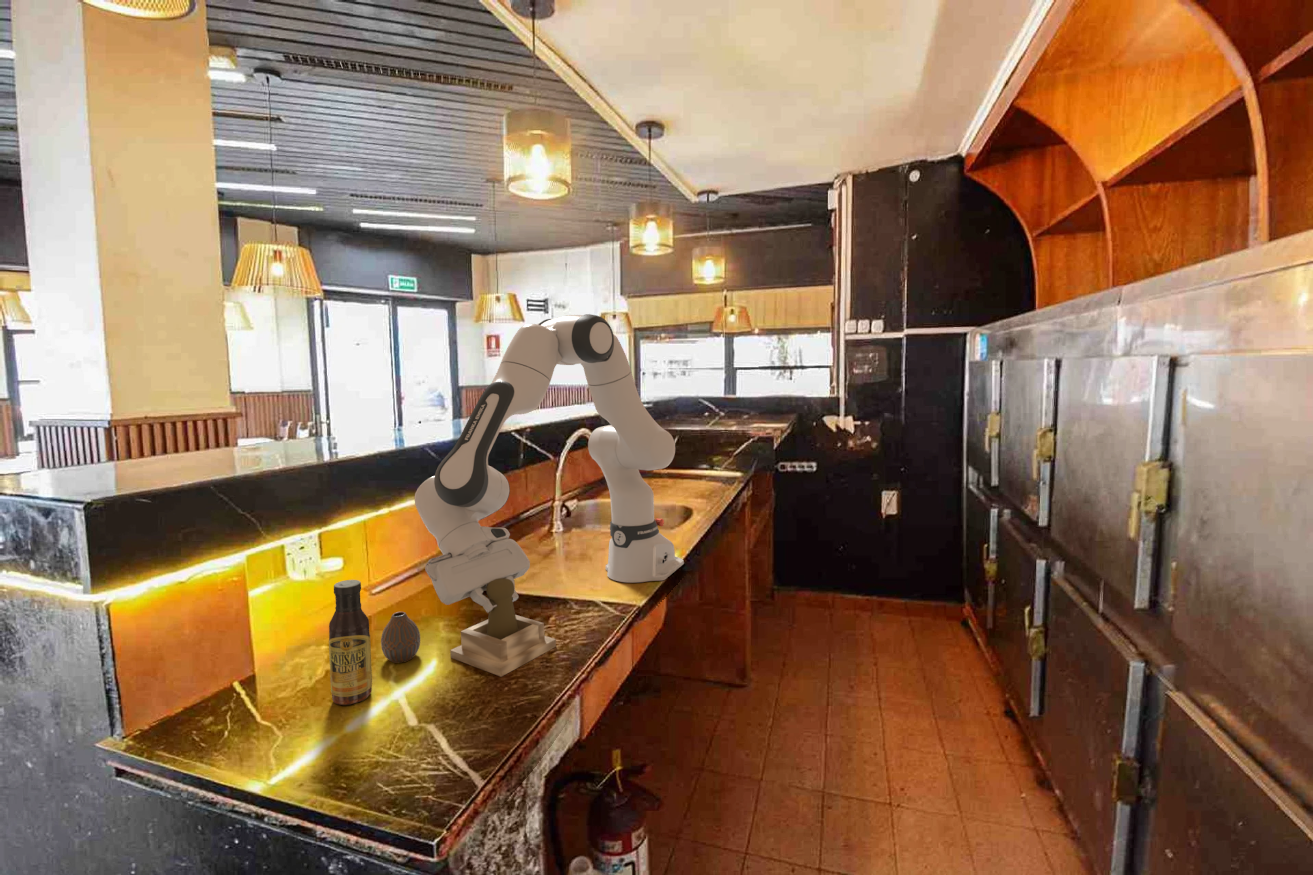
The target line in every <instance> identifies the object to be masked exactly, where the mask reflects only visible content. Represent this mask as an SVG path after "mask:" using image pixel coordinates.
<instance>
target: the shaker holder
mask: <svg viewBox="0 0 1313 875" xmlns="http://www.w3.org/2000/svg"><path fill="white" fill-rule="evenodd" d="M515 616H516V621H517V626H518V632H516V633H514V634H512V635H510V636H508V637H506V638H503V639H501V640H500V639H497V638H494V637H491V636H488V635H487V629H488V619H486V620H484V621H483V620H482V621H481V622H478V623H477V624H474V625H471V626H469V627H468V628H465V629H463V630H461V631H460V639H461V644H460V645H458V646H456V647H454V648H452V649H450V650H449V651H450V658H451V659H453V660H456V661H459V662H461V663H464V664H467V665H469V666H471V667H474V668H477V669H479V670H481V671H485V672H488V673H491V674H493V675H496V676H498V677H501V678H502V677H504V676H505V675H507V674H508V673H511V672H513V671H514V670H516V669H518V668H519V667H522V666H523V665H525V664H527V663H529V662H530V661H531V662H532V661H533V660H534V659H536V658H538V657H540V656H542V655H543V654H545V653H547V652H549V651H551V650H552V649H554V648H556V647H557V639H556V638H554V637H550V636H548V635H547V636H546V635H545V623H544V622H541V621H538V620H534V619H532V618H531V619H530V618H527V617H524V616H522V615H521V616H520V615H517V614H515Z"/></svg>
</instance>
